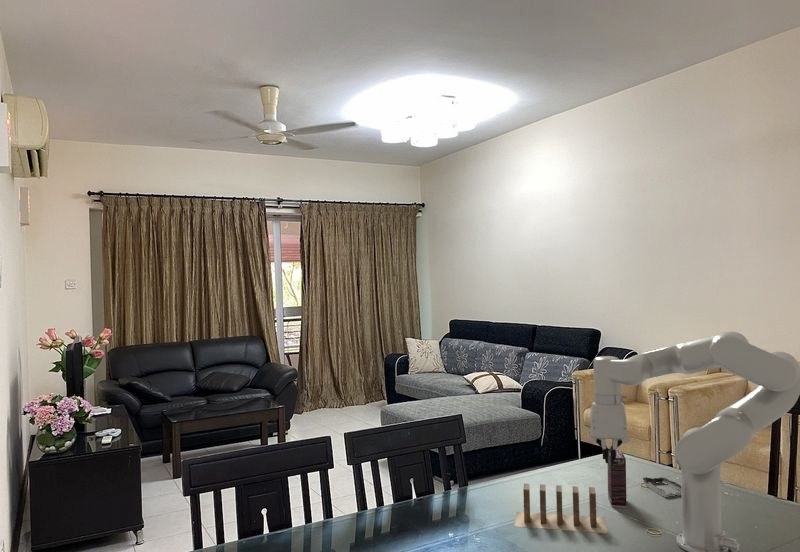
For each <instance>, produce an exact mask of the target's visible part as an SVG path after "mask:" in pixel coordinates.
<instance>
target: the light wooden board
mask: <svg viewBox="0 0 800 552" xmlns="http://www.w3.org/2000/svg"><path fill="white" fill-rule="evenodd" d="M562 515H563V525H557V513H546V524H541V520H540V512H530V523H524V511H516V515H515V521H514V527H518V528H529V529H530V528H531V529H545V530H557V531H558V530H559V531H571V532H572V531H573V532H584V533H585V532H586V533H596V534H597V533H598V534H601V533H602V534H608V529H607V528H608V527H607V524H606V520H605V517H600V516H596V521H597V528H591V525H590V515H589V516H585V515H579V522H580V527H576V526H574V521H573V514H562Z"/></svg>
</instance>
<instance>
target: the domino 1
mask: <svg viewBox="0 0 800 552" xmlns="http://www.w3.org/2000/svg"><path fill="white" fill-rule="evenodd" d="M530 495H531V494H530V483H523V512H524V523H530V513H531V501H530Z"/></svg>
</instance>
